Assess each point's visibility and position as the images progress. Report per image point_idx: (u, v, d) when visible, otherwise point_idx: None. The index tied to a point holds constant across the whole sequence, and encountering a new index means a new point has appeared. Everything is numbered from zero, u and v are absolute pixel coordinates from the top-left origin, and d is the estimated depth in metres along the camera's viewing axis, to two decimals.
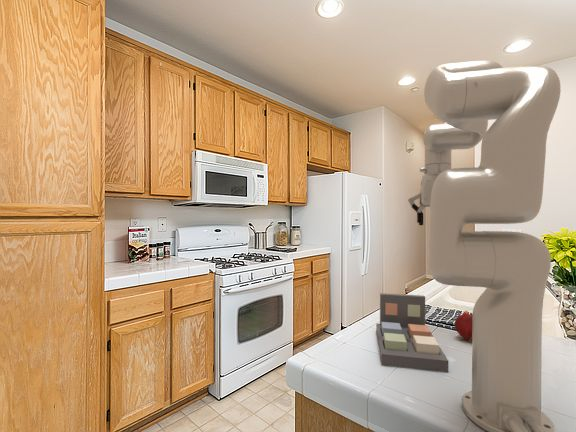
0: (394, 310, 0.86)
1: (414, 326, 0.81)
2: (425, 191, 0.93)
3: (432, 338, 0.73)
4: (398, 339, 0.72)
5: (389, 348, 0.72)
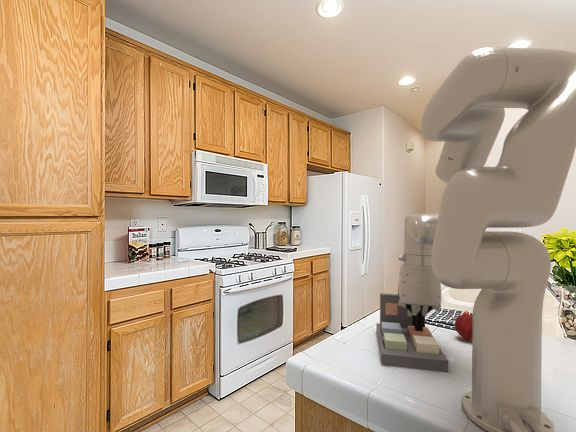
0: (394, 310, 0.86)
1: (414, 328, 0.81)
2: (404, 286, 0.78)
3: (432, 338, 0.73)
4: (398, 339, 0.72)
5: (389, 348, 0.72)
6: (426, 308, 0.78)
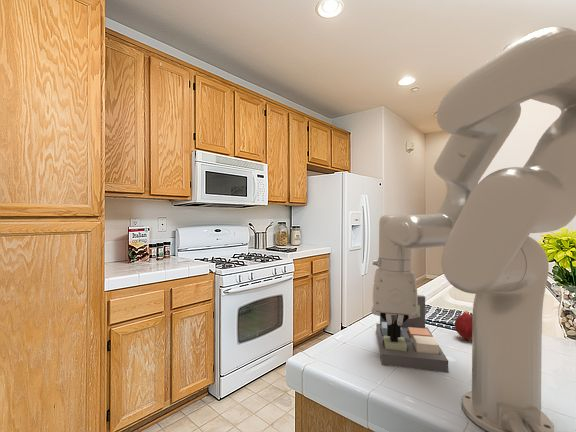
0: None
1: (414, 330, 0.81)
2: (377, 293, 0.72)
3: (432, 338, 0.73)
4: (398, 342, 0.72)
5: None
6: (402, 317, 0.72)
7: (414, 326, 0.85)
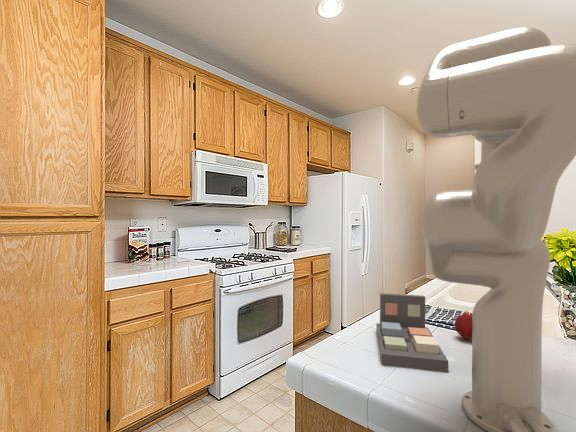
0: (394, 310, 0.86)
1: (414, 330, 0.81)
2: None
3: (432, 338, 0.73)
4: (398, 343, 0.72)
5: None
6: None
7: (414, 326, 0.85)
